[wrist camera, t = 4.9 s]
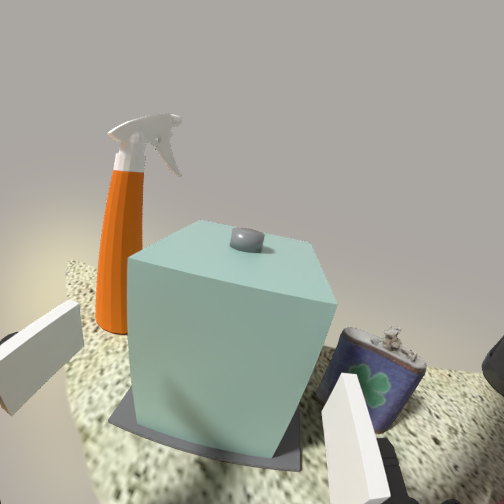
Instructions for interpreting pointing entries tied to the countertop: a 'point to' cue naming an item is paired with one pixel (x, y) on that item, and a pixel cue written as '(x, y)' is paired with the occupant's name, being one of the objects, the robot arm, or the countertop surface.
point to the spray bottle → (127, 212)
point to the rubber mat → (281, 460)
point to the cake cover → (224, 334)
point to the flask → (375, 372)
